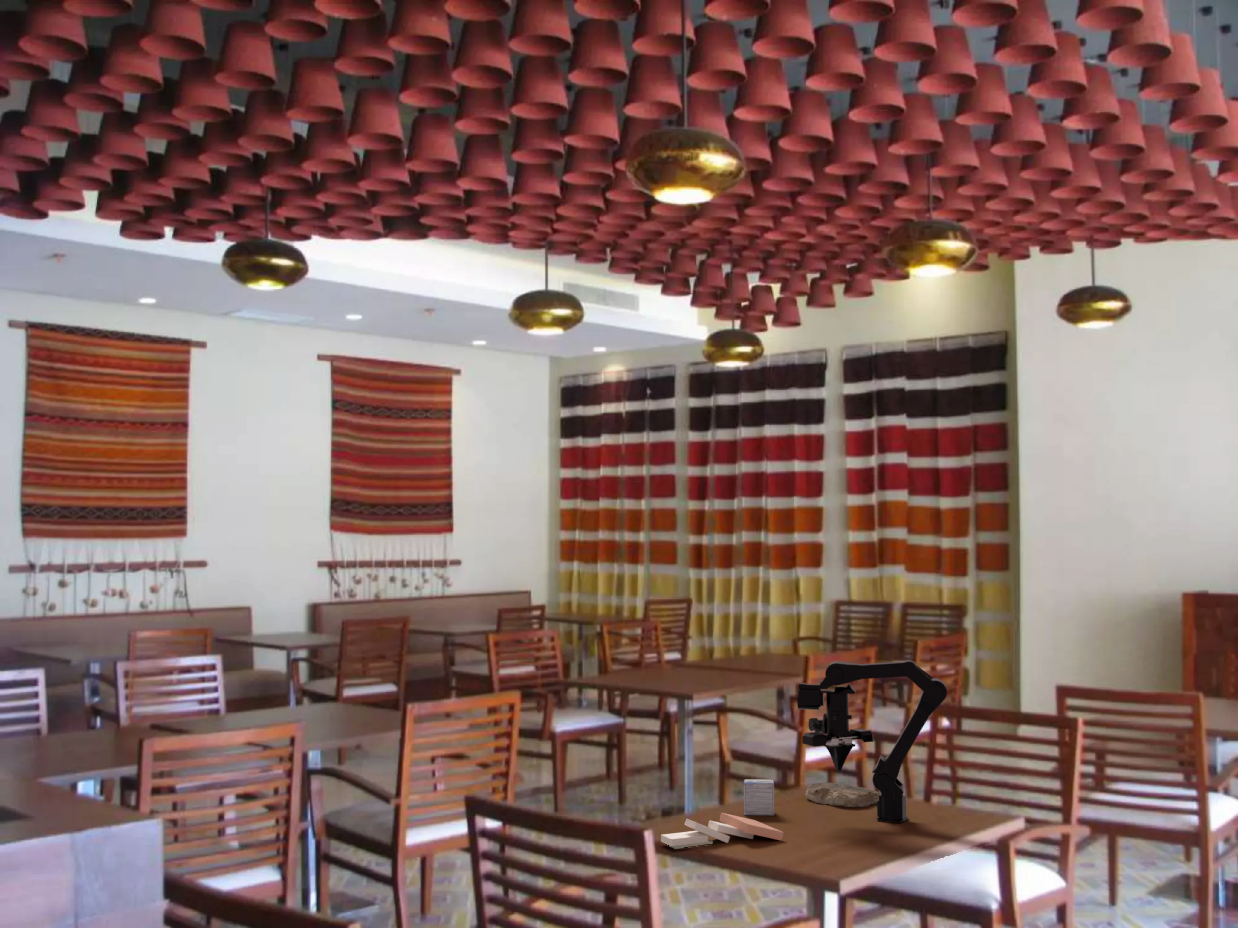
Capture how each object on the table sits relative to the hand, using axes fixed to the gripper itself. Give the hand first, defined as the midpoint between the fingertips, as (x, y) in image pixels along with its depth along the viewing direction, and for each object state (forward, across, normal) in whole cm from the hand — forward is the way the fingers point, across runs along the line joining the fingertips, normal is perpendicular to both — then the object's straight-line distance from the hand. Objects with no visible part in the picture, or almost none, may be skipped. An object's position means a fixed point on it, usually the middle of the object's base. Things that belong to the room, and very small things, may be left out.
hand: (838, 770), depth 326 cm
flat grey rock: (+13, -12, -18) cm, 24 cm away
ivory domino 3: (+11, +32, +8) cm, 35 cm away
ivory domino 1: (+10, +45, +8) cm, 47 cm away
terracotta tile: (+11, +26, +8) cm, 29 cm away
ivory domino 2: (+11, +39, +9) cm, 42 cm away
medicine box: (+12, +16, -13) cm, 24 cm away
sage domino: (+12, +43, +8) cm, 46 cm away
